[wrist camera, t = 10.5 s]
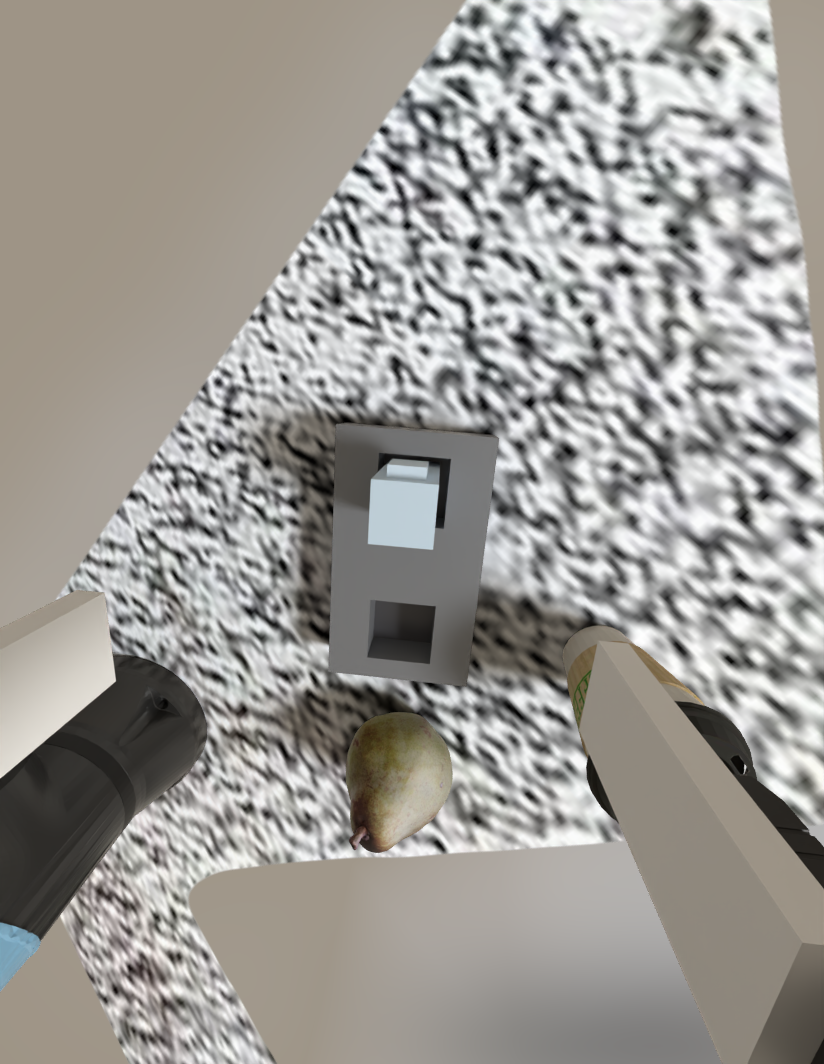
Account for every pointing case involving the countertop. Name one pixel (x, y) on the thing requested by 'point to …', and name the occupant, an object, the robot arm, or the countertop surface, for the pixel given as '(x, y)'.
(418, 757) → the fruit
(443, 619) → the socket panel
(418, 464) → the plug
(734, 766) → the coffee cup
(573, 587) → the countertop surface
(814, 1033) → the robot arm
